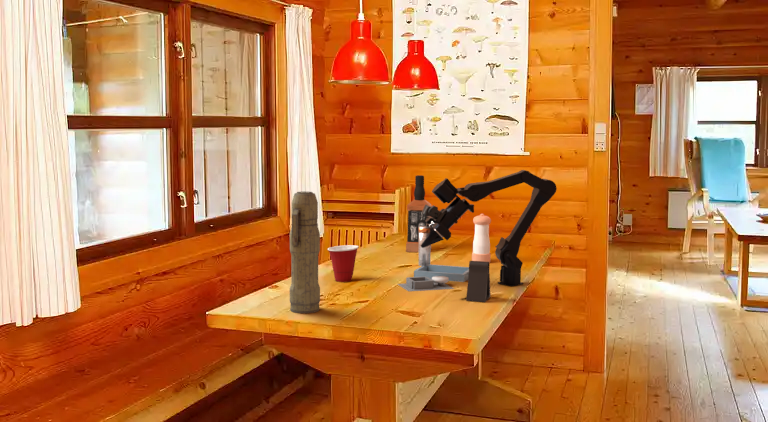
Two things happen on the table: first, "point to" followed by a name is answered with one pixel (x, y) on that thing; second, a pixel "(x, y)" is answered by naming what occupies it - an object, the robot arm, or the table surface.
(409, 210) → the whiskey bottle
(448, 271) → the tray
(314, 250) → the thermos
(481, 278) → the phone stand
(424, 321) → the table surface
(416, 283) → the plate
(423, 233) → the salt shaker
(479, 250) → the pepper shaker
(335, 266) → the plastic cup
